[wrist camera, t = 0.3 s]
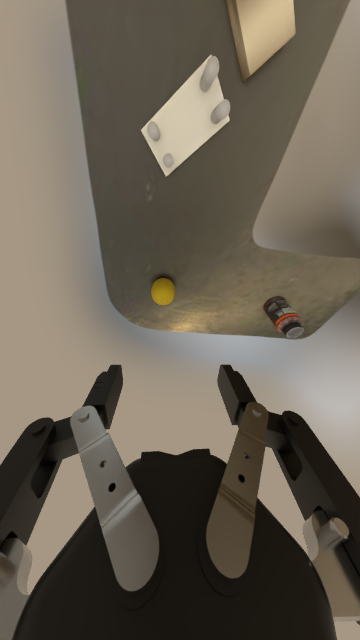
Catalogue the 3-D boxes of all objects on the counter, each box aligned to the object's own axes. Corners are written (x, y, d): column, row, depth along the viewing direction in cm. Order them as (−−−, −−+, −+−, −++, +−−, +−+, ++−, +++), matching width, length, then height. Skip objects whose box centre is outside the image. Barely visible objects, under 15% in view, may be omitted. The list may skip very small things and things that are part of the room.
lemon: (165, 267, 39) (164, 286, 34) (179, 284, 43) (180, 303, 37) (147, 279, 42) (144, 299, 36) (162, 294, 45) (160, 315, 39)
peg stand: (141, 130, 24) (135, 125, 20) (209, 57, 20) (220, 31, 16) (166, 176, 28) (165, 180, 24) (228, 121, 24) (240, 113, 20)
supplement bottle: (276, 312, 51) (296, 342, 43) (259, 310, 50) (276, 339, 42) (289, 297, 47) (314, 326, 39) (271, 294, 46) (292, 323, 38)
